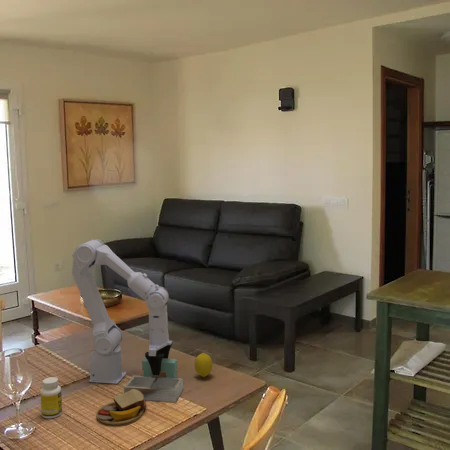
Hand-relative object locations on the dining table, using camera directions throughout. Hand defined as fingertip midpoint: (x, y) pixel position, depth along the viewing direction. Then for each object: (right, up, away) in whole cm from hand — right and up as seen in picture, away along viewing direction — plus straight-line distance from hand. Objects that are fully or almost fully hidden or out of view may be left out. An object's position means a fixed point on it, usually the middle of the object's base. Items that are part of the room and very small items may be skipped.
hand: (159, 369), depth 163 cm
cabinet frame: (-1, -5, -9) cm, 10 cm away
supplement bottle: (-27, -7, -20) cm, 34 cm away
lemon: (+14, -3, +2) cm, 14 cm away
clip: (0, -3, 0) cm, 3 cm away
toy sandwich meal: (-8, -7, -20) cm, 23 cm away
